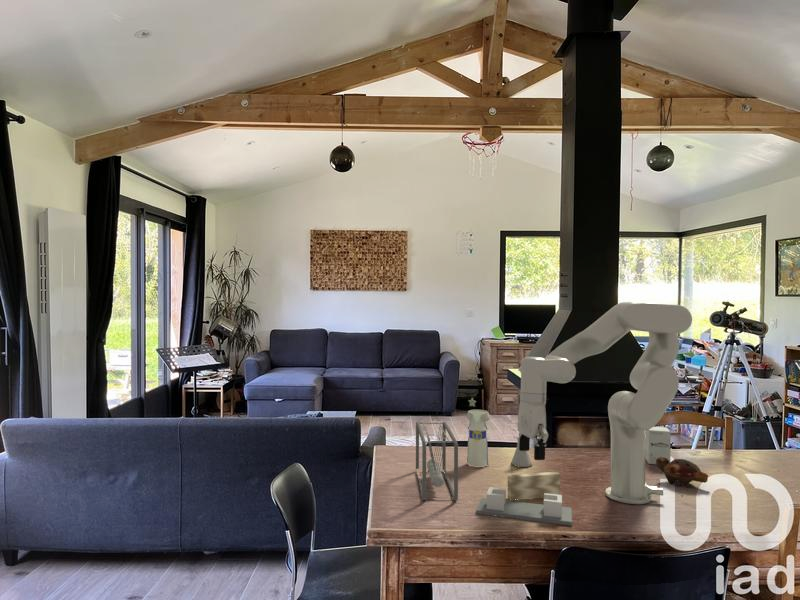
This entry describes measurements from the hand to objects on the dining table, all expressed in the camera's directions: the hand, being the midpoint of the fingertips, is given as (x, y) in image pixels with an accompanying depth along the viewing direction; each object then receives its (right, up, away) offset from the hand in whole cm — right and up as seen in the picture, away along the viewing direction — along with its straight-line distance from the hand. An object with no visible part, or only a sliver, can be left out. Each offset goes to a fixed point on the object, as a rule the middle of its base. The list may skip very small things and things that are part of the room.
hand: (531, 455), depth 153 cm
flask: (+5, -14, +32) cm, 35 cm away
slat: (+1, -13, 0) cm, 13 cm away
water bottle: (-11, -14, +32) cm, 36 cm away
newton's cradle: (-28, -13, +10) cm, 33 cm away
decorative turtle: (+52, -13, +12) cm, 55 cm away
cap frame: (-5, -12, -12) cm, 18 cm away
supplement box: (+56, -14, +36) cm, 68 cm away
